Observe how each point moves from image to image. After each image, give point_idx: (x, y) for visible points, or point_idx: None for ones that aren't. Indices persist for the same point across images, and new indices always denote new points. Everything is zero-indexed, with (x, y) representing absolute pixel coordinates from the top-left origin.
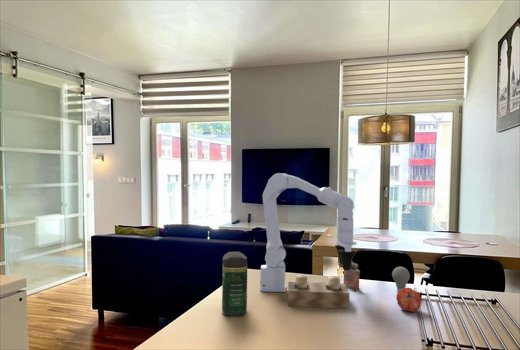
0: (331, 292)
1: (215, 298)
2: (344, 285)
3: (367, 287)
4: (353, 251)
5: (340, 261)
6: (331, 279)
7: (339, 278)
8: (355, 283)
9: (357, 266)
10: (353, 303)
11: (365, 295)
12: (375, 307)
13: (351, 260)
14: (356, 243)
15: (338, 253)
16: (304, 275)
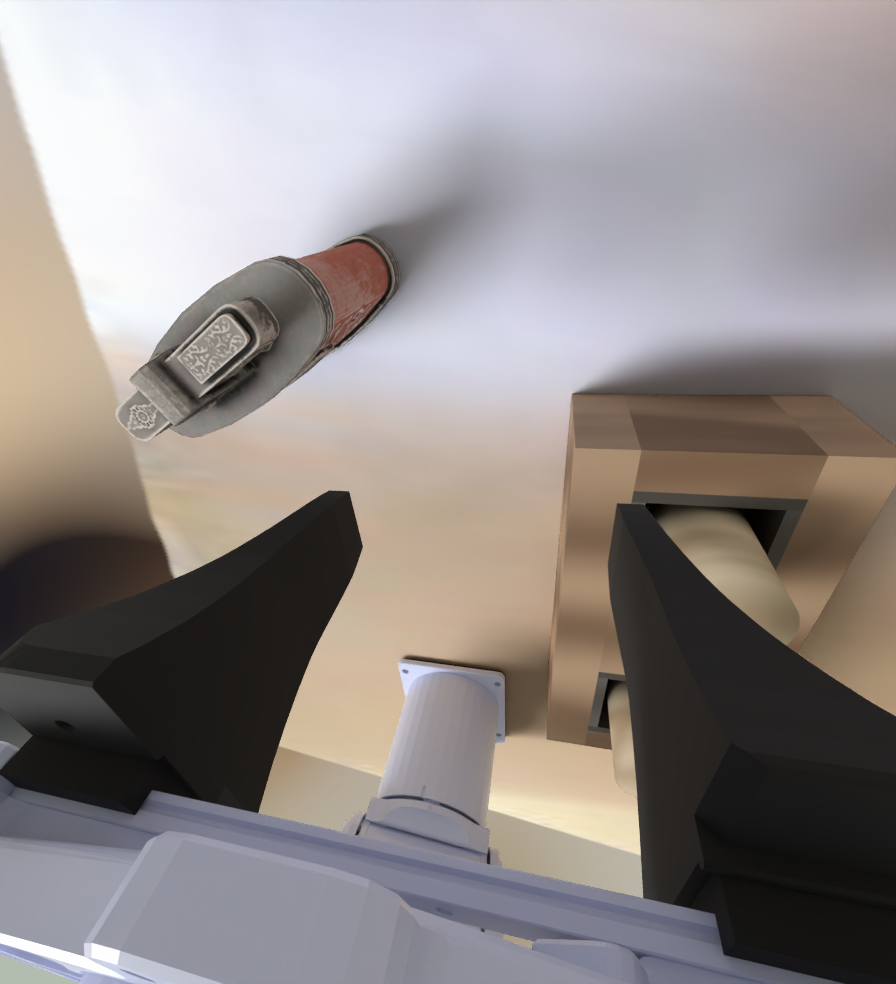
0: (829, 590)
1: (592, 830)
2: (634, 461)
3: (248, 126)
4: (846, 815)
5: (346, 573)
6: None
7: (773, 591)
8: (370, 293)
9: (255, 310)
10: (711, 343)
11: (495, 189)
12: (873, 117)
13: (740, 614)
14: (319, 934)
15: (299, 682)
16: (632, 766)
